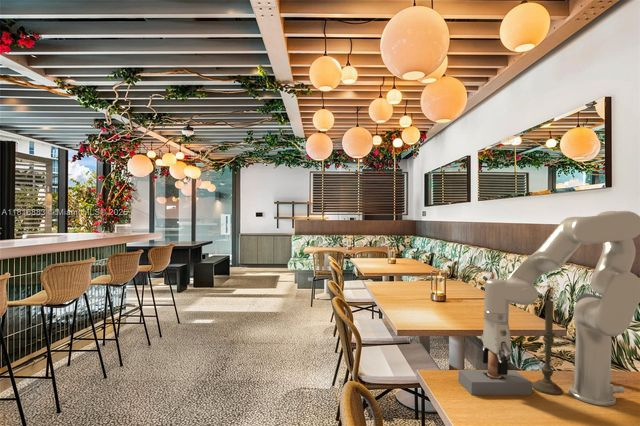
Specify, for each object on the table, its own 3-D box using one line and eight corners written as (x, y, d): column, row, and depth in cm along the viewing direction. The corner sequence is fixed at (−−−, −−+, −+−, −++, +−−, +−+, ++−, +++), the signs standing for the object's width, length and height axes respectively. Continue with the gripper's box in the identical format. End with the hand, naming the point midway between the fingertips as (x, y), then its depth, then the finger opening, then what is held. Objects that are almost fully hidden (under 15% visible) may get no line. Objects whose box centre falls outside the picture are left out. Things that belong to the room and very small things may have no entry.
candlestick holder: (550, 396, 128) (553, 302, 128) (525, 385, 136) (528, 296, 136) (569, 392, 132) (572, 301, 132) (543, 381, 140) (546, 295, 140)
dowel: (496, 385, 135) (497, 349, 135) (503, 390, 131) (504, 354, 131) (484, 385, 135) (485, 349, 135) (490, 390, 131) (492, 354, 131)
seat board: (514, 381, 139) (514, 370, 139) (531, 394, 129) (532, 382, 129) (458, 381, 137) (458, 369, 137) (471, 394, 127) (471, 382, 127)
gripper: (522, 324, 125) (520, 379, 125) (494, 310, 142) (492, 359, 142) (498, 323, 124) (496, 379, 124) (473, 310, 142) (471, 359, 142)
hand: (494, 368), depth 133 cm, fingers open, 9 cm apart
